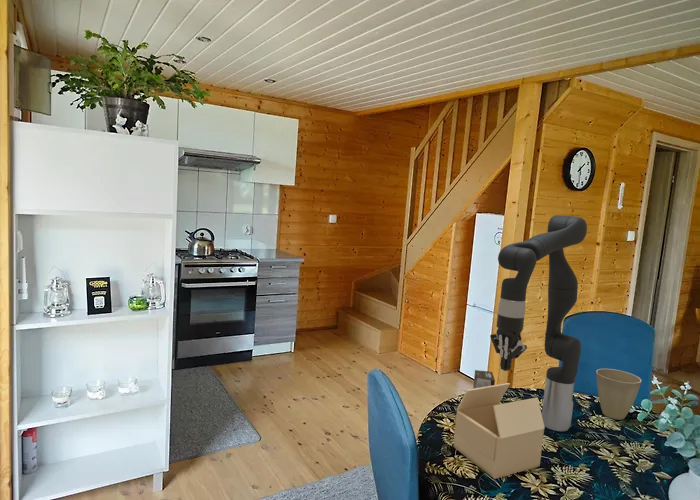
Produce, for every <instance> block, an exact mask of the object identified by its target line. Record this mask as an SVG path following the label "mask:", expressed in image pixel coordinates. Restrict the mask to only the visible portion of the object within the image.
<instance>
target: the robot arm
mask: <svg viewBox="0 0 700 500" xmlns="http://www.w3.org/2000/svg"><path fill="white" fill-rule="evenodd" d="M587 231H588V225H587V221H586V220H585V219H584V218H583V217H580V216H573V215H556V214H555V215H553V216H551V218H550V219H549V221H548V223H547V232H544V233H539V234H536V235H534V236H531V237H530V238H528V239H526V240H525V241H519V242H514V243H510V244H507V245H505V246H504V247H502V249H500V251H499V253H498V255H497V256H498V257H497V261H498V264H499V266H500V267H501V268H502V269H504V270H509V271H514V272H517V273H516V275H515V277H507V278H504V279H503V280H502V282H501V289H500V298H499V302H498V307H497V309H498V310H497V315H496V316H497V318H496V325H495V326H496V328H497V329H496V332H495V333H493V334H490V335H489V337H490V339H491V342H492V345H493V348H494V350H495V352H496V354H499V357H500V363H499V365H500V366H499V367H500V369H501V370H502V371H504V372H508V371H509V370H511V367H512V360H513V359H514V360H516V359H518V358H519V357H520V356H521V355H522V354H523V353H524V352H525V351H526V350H527V349H528V346H527V344H523V342H522V336H521V334H522V332H523V330H524V321H525V314H526V298H527V297H526V295H527V288H528V285H529V283H530V279H531V277H532V275H533V272H534V271H535V270H534V269H535V267H536V265H537V262H538V261H540V260H542V259H544V258H545V257H547V256H548V284H547V286H548V287H547V321H546V329H545V336H544V352H545V354H546V355H547V356H548V357H550V358H552V359H555V360H558V361H560V362H562V365H561V366H552V367H548V368H547V370H546V375H545V384H544V393H543V400H542V408H541V409H542V410H541V414H542V418H543V423H544V427H545V428H547V429H549V430H552V431H556V432H567V431H568V430H569V429H570V428H571V426H572V425H571V424H572V416H573V411H574V410H573V409H574V401H573V396H574V388H575V380H576V376H577V373H578V368H579V363H580V357H581V353H582V343H581V341H580V339H579V338H577V337H574V336H572V335H568V334H564V333H562V323H563V321H564V319H565V317H566V316H567V315H568V313H569V312H570V311H571V310H572V309H573V307H574V306H575V305H576V303H577V302H578V287H579V283H578V279H577V275H576V274H575V273H574V271H573V268H572V267H571V266H570V264H569V262H568V261H567V258H566V255H565V252H564V249H565V248H567V247H570V246H575V245H578V244H580V243H582V242H583V241H584V240H585V238H586V236H587V233H588V232H587Z"/></svg>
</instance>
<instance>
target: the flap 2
mask: <svg viewBox="0 0 700 500" xmlns="http://www.w3.org/2000/svg"><path fill="white" fill-rule="evenodd" d="M493 408H494V413H495V418H496V423H497V428H498V433H499V437H500V439H502V438H506V437H510V436H515V435H519V434H523V433H527V432H532V431H536V430H540V429H544V430H545V429H546V427H545V426H544V423H543V418H542V410H541V407H540V402H539V398H538V397H537V396H536V397H532V398H527V399H523V400H515V401H510V402H505V403H501V404H499V405H494V406H493Z"/></svg>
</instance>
